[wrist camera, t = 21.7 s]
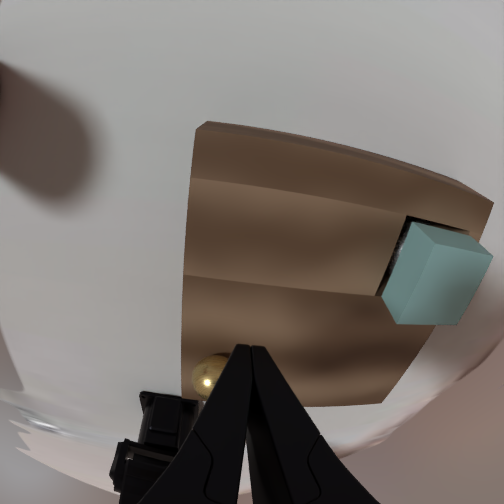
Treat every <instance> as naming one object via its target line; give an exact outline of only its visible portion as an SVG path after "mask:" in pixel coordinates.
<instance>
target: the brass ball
mask: <svg viewBox="0 0 504 504" xmlns="http://www.w3.org/2000/svg"><path fill="white" fill-rule="evenodd" d="M227 361H228V358H227V357H224V356H220V355H211V356H207V357H205V358H203V359H202V360H200V361H199V362H198V363H197V364H196V366H195V367H194V369H193V372H192V385H193V388H194V390H195V391H196V393H197V394H198V395H199V396H200V397H201V398H203V399H205V400H207V399H208V397H209V395H210V393H211V391H212V390H213V388H214V386H215V384H216V382H217V380H218V378H219V376H220V374H221V372H222V370H223V368H224V367H225V365H226V363H227Z"/></svg>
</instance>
